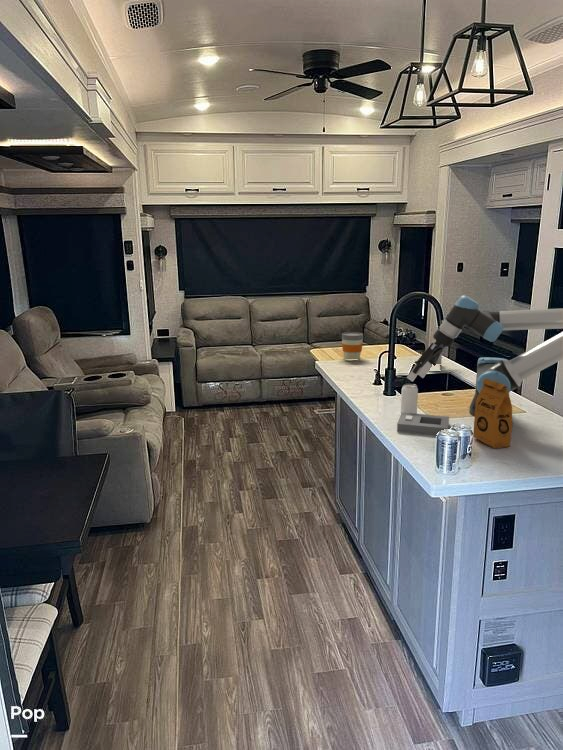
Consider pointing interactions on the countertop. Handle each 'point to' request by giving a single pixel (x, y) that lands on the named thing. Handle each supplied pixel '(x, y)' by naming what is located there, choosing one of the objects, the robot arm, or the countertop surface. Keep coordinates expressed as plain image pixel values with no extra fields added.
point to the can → (409, 398)
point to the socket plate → (422, 423)
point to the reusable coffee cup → (352, 345)
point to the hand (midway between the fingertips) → (415, 377)
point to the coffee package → (493, 415)
